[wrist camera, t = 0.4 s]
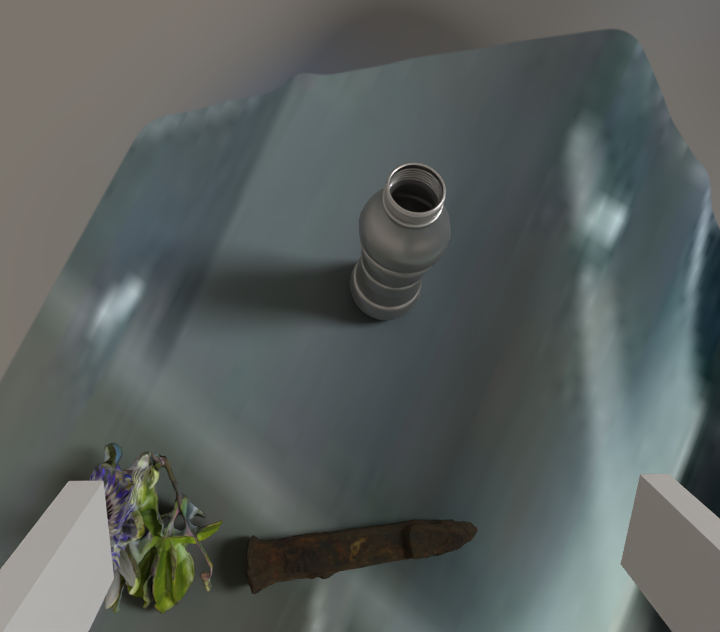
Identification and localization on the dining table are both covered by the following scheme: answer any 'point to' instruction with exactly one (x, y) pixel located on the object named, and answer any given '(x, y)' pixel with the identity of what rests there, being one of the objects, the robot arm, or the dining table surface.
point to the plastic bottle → (400, 241)
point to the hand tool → (350, 549)
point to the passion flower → (161, 545)
